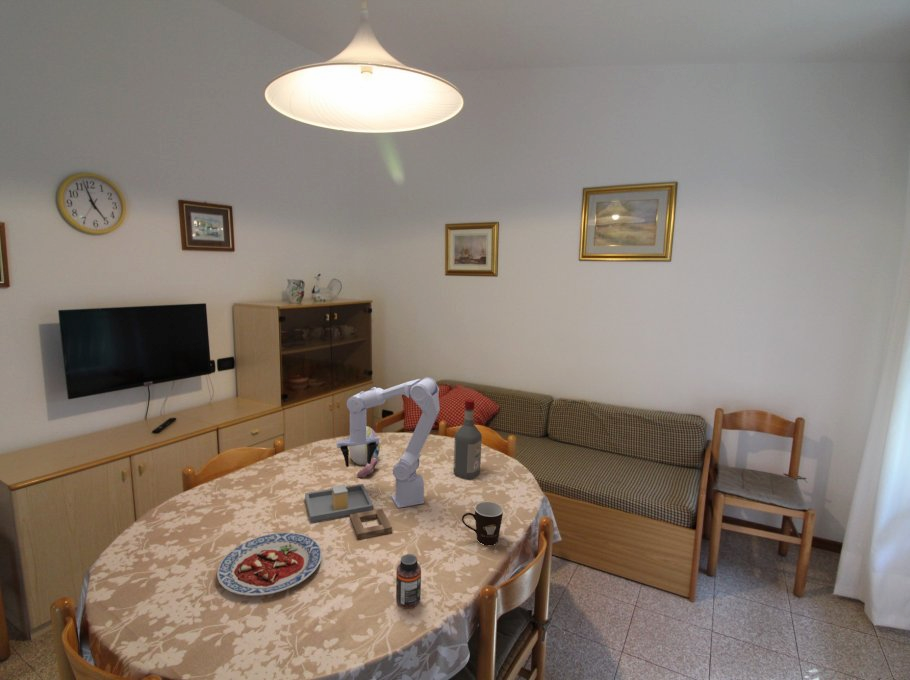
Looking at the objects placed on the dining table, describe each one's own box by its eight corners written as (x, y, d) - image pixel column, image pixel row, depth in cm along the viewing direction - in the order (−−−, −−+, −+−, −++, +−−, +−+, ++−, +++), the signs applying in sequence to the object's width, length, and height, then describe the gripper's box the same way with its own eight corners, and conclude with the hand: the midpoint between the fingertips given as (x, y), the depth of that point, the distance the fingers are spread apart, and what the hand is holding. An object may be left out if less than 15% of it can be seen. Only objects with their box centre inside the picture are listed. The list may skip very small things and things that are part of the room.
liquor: (482, 472, 183) (485, 400, 178) (470, 481, 176) (474, 405, 171) (462, 466, 188) (465, 395, 183) (450, 474, 180) (453, 401, 176)
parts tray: (362, 489, 166) (362, 483, 166) (373, 511, 152) (373, 505, 151) (305, 499, 158) (305, 493, 158) (310, 523, 144) (310, 516, 143)
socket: (382, 513, 151) (382, 508, 150) (392, 532, 140) (392, 527, 140) (349, 519, 146) (349, 514, 146) (357, 539, 136) (357, 534, 136)
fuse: (344, 502, 156) (344, 484, 155) (347, 509, 151) (347, 491, 150) (331, 504, 154) (331, 486, 153) (334, 512, 149) (334, 493, 148)
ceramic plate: (259, 619, 105) (258, 607, 105) (196, 576, 119) (196, 565, 118) (342, 560, 127) (342, 550, 126) (281, 529, 140) (281, 520, 140)
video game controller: (365, 483, 175) (373, 468, 173) (355, 476, 175) (363, 462, 173) (374, 471, 184) (382, 458, 183) (365, 465, 185) (372, 452, 183)
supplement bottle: (396, 592, 115) (397, 551, 113) (420, 591, 115) (421, 550, 114) (395, 610, 109) (396, 566, 107) (420, 609, 110) (421, 566, 108)
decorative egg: (376, 468, 184) (376, 432, 182) (346, 466, 184) (346, 431, 182) (381, 455, 196) (382, 421, 194) (353, 454, 196) (353, 420, 194)
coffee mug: (504, 535, 141) (506, 504, 140) (497, 550, 133) (499, 519, 131) (468, 526, 145) (469, 497, 143) (459, 541, 137) (461, 510, 135)
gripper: (375, 421, 167) (375, 457, 169) (335, 426, 161) (335, 462, 163) (380, 428, 161) (380, 464, 163) (338, 433, 155) (338, 470, 157)
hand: (358, 464), depth 163 cm, fingers open, 7 cm apart
